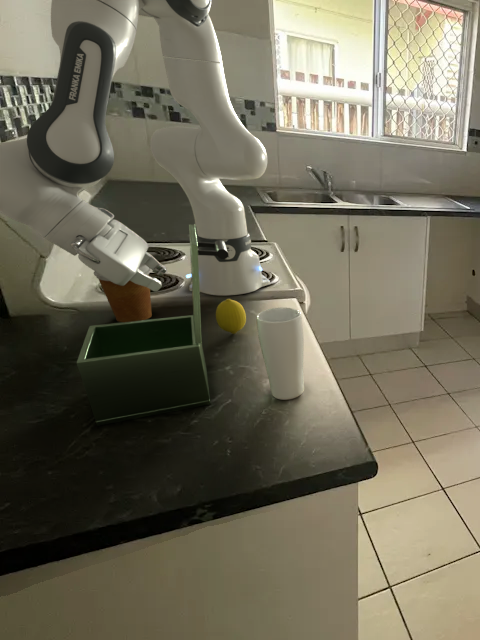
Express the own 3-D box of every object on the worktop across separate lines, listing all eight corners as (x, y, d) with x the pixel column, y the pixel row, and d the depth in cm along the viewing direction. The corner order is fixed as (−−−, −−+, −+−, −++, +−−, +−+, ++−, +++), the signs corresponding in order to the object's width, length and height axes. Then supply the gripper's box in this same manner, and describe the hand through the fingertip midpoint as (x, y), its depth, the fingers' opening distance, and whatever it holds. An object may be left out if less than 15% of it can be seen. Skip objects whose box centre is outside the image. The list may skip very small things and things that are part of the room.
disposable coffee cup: (104, 328, 99) (89, 273, 94) (109, 312, 106) (94, 260, 101) (160, 322, 104) (148, 269, 99) (161, 307, 111) (149, 257, 106)
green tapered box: (97, 426, 71) (76, 362, 66) (106, 383, 81) (89, 325, 76) (210, 404, 78) (198, 346, 74) (206, 367, 88) (195, 314, 84)
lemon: (236, 340, 99) (230, 305, 96) (212, 336, 100) (206, 301, 97) (254, 331, 104) (249, 296, 101) (231, 326, 105) (226, 292, 102)
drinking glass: (299, 379, 88) (291, 304, 82) (315, 395, 84) (308, 317, 77) (260, 390, 83) (249, 312, 77) (275, 408, 79) (264, 326, 73)
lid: (191, 244, 68) (230, 247, 71) (188, 224, 78) (223, 226, 81) (195, 343, 73) (231, 342, 76) (192, 312, 84) (224, 312, 86)
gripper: (82, 231, 75) (169, 285, 84) (107, 207, 91) (177, 254, 100) (53, 259, 75) (143, 311, 84) (83, 230, 91) (156, 275, 100)
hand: (162, 280), depth 92 cm, fingers open, 8 cm apart
